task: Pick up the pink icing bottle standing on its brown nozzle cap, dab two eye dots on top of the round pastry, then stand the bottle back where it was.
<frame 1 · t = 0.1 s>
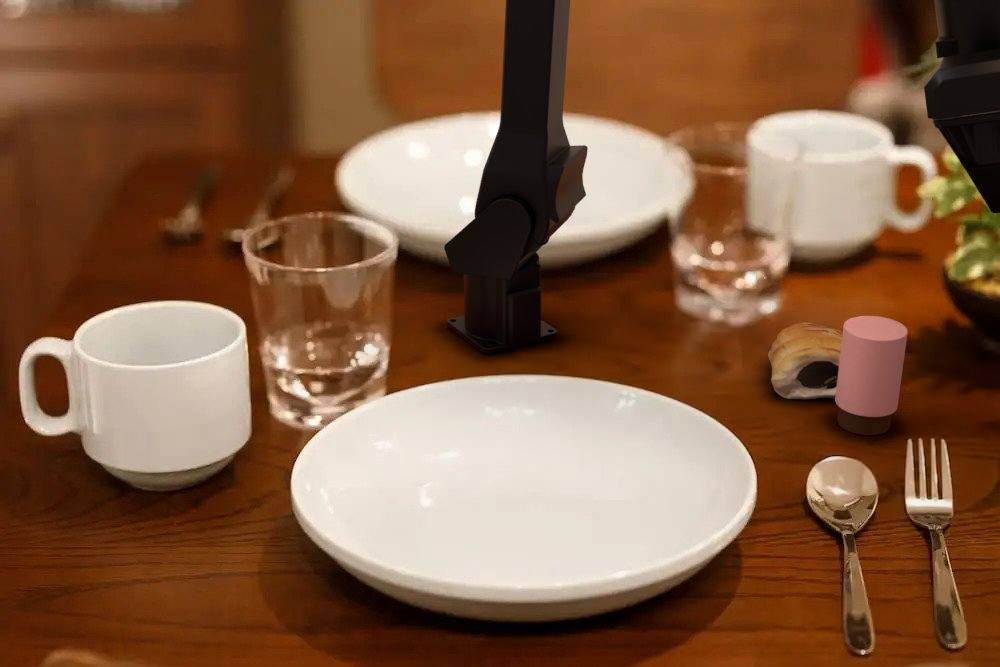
icing bottle: (863, 423, 87), on the table
pastry: (811, 381, 93), on the table
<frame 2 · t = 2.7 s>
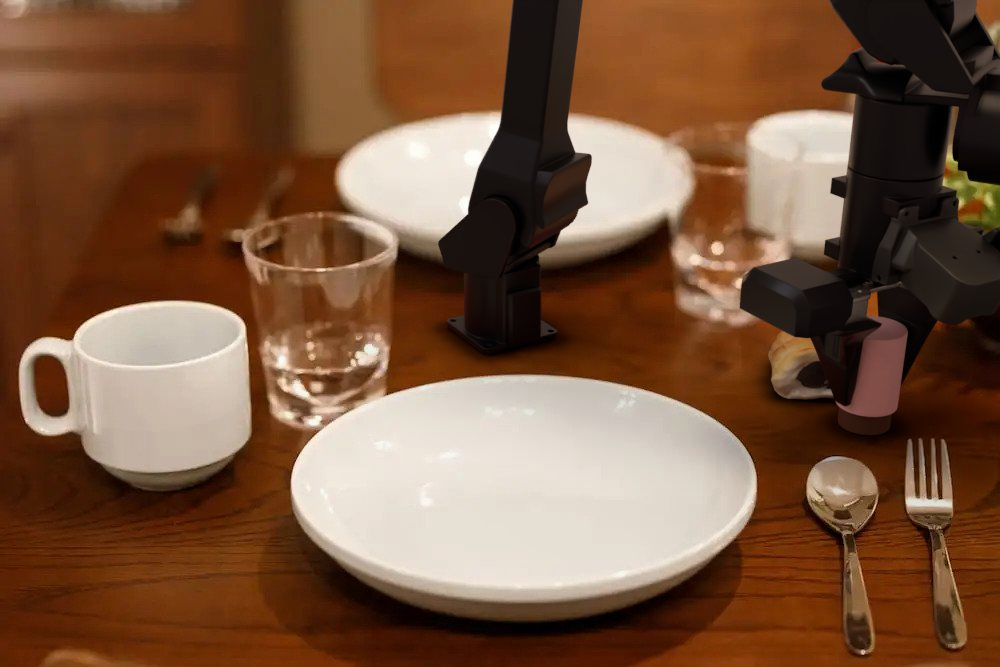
hand: (866, 396, 86), 2 cm above the table, tool pointing down, fingers closed on icing bottle, 4 cm apart
icing bottle: (863, 423, 87), on the table, touching gripper
everything else where it was.
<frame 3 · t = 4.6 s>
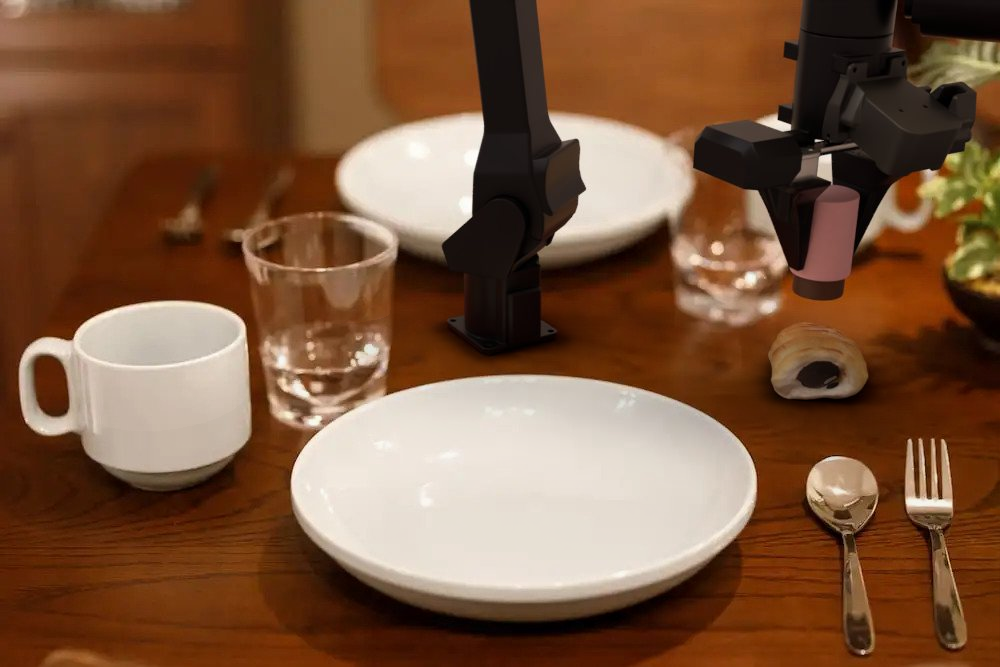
hand: (820, 263, 88), 9 cm above the table, tool pointing down, fingers closed on icing bottle, 4 cm apart
icing bottle: (817, 291, 89), point 7 cm above the table, touching gripper
everything else where it was.
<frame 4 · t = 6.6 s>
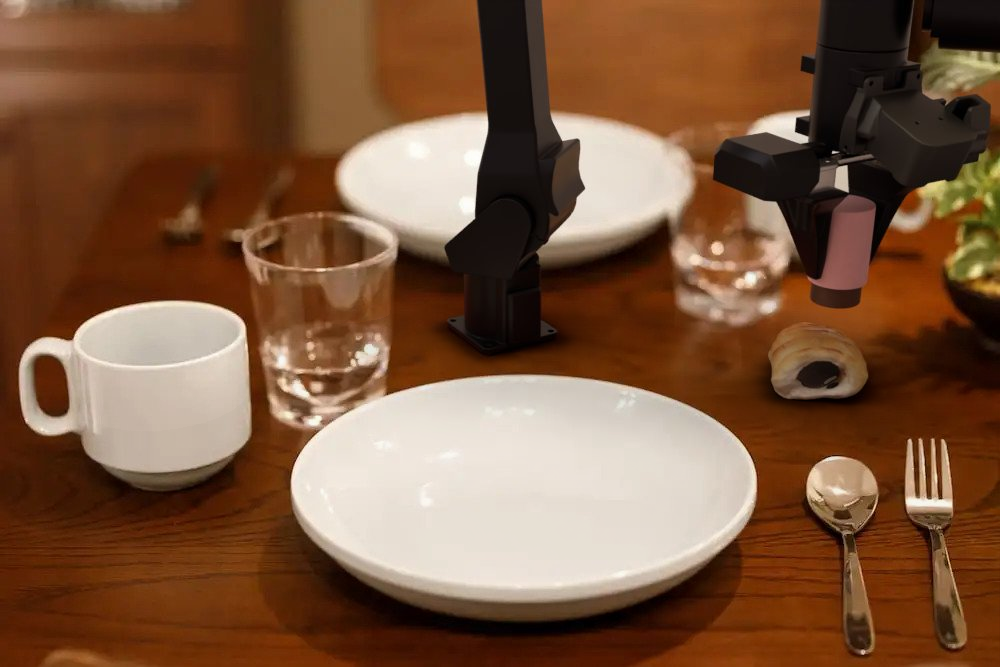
hand: (837, 272, 89), 8 cm above the table, tool pointing down, fingers closed on icing bottle, 4 cm apart
icing bottle: (834, 299, 90), point 6 cm above the table, touching gripper
everything else where it was.
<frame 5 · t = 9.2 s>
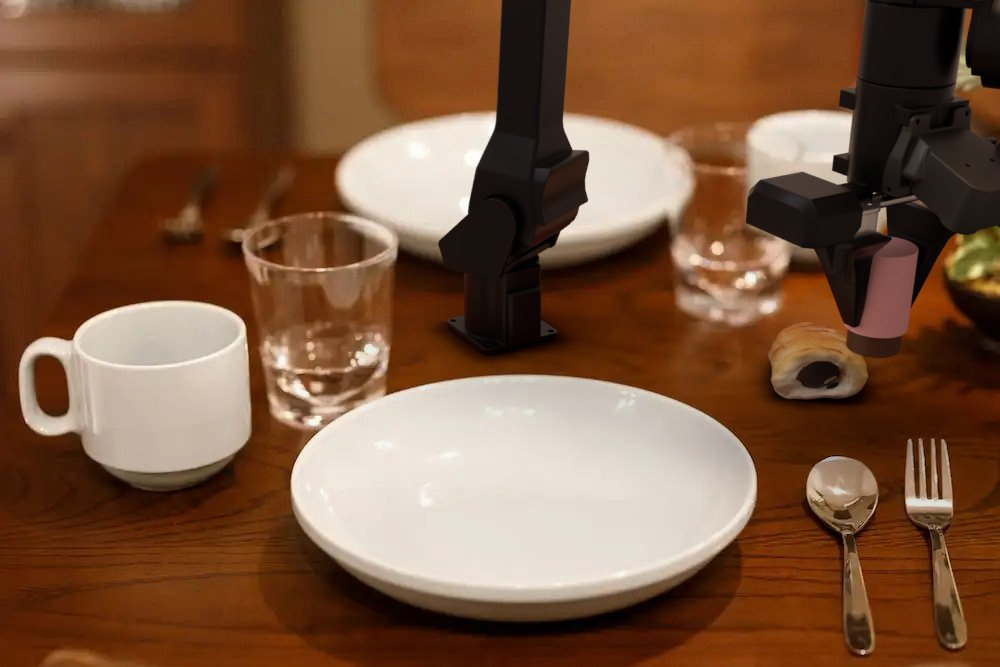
hand: (875, 318, 84), 8 cm above the table, tool pointing down, fingers closed on icing bottle, 4 cm apart
icing bottle: (872, 347, 85), point 6 cm above the table, touching gripper
everything else where it was.
when the fingers open (2 cm above the table, at t = 10.8 s): icing bottle stays where it is, on the table.
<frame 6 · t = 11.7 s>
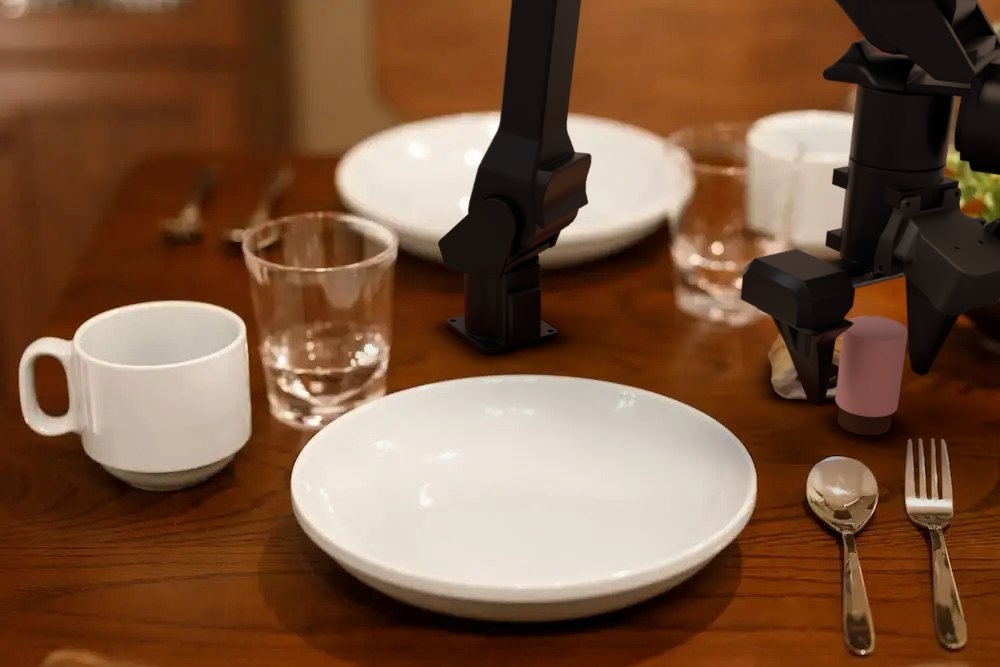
hand: (868, 388, 86), 3 cm above the table, tool pointing down, fingers open, 9 cm apart
icing bottle: (863, 423, 87), on the table
everything else where it was.
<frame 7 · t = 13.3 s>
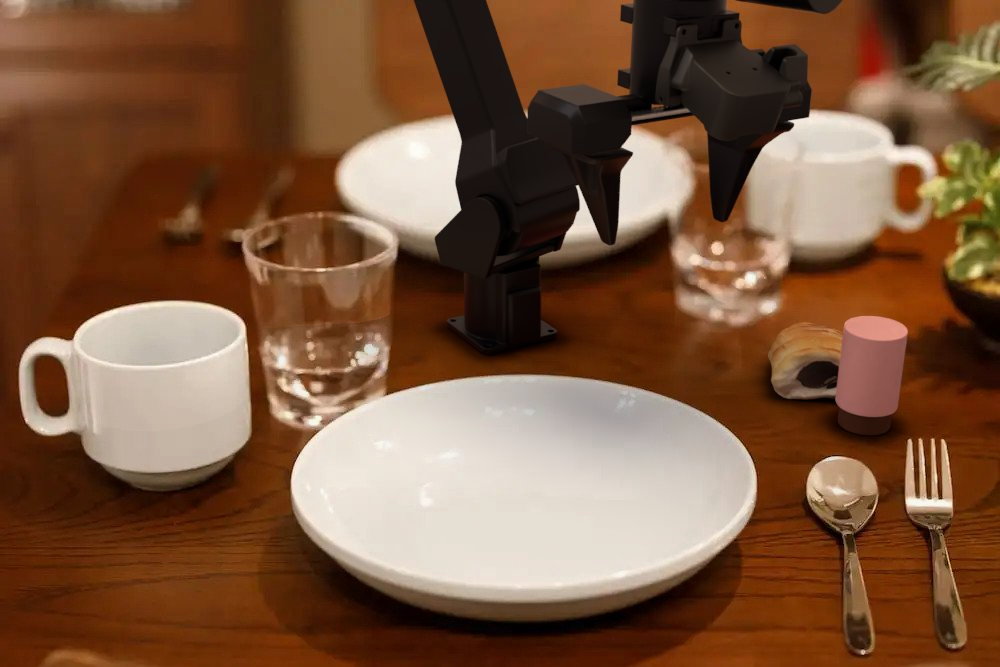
hand: (665, 231, 87), 12 cm above the table, tool pointing down, fingers open, 9 cm apart
nothing on the table moved.
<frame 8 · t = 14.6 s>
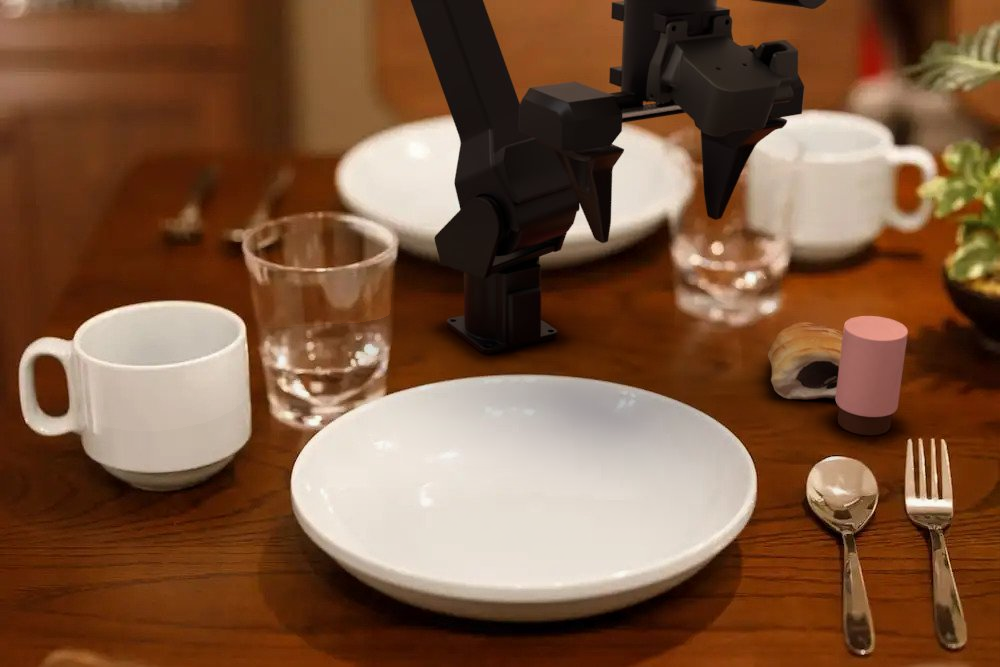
hand: (658, 229, 87), 12 cm above the table, tool pointing down, fingers open, 9 cm apart
nothing on the table moved.
at the end: icing bottle 0.0 cm from the target spot, on the table; icing bottle tilted 0°; the gripper is holding nothing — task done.
